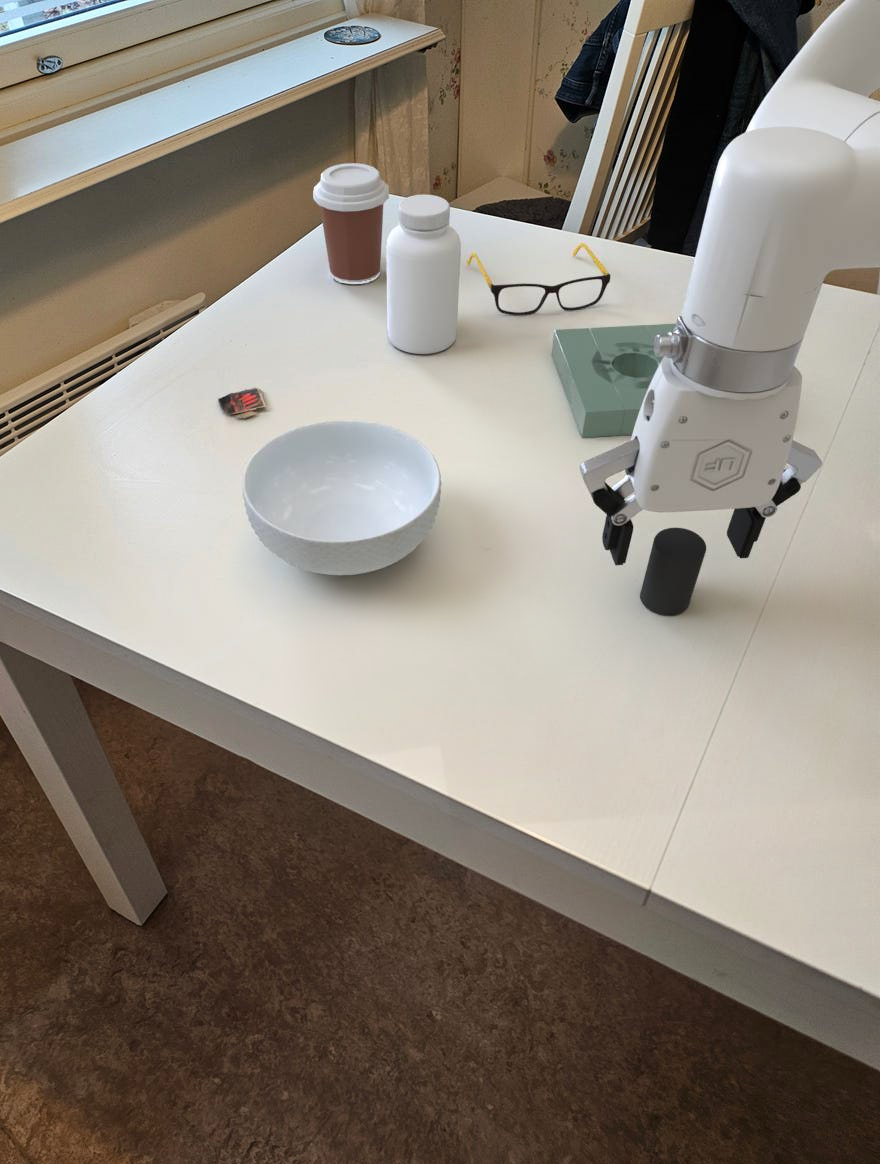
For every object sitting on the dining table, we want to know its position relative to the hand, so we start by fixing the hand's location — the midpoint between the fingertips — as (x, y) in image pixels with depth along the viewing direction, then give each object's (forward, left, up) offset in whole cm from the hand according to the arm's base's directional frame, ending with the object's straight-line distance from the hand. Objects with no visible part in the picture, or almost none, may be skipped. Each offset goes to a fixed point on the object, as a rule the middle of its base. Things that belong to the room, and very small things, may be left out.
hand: (676, 550), depth 70 cm
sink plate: (-7, -31, -6) cm, 32 cm away
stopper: (0, 0, -6) cm, 6 cm away
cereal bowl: (+26, -10, -6) cm, 28 cm away
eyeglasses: (+1, -55, -6) cm, 55 cm away
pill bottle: (+16, -44, -6) cm, 47 cm away
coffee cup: (+23, -61, -6) cm, 65 cm away
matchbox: (+36, -32, -6) cm, 48 cm away
